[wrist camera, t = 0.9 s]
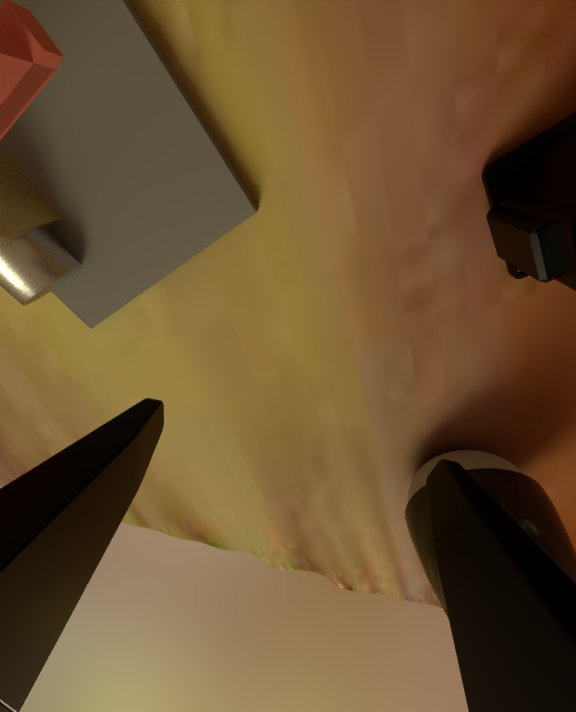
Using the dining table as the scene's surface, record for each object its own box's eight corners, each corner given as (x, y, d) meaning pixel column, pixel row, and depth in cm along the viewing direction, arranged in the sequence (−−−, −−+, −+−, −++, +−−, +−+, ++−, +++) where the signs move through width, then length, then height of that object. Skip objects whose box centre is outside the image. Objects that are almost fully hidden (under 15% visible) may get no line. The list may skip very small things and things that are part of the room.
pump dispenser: (445, 518, 32) (532, 762, 19) (371, 473, 29) (416, 728, 16) (546, 469, 27) (749, 752, 15) (470, 409, 24) (643, 701, 12)
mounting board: (77, -83, 12) (59, -99, 11) (258, 208, 17) (255, 212, 17) (-82, 145, 17) (-103, 145, 16) (99, 321, 22) (91, 328, 21)
